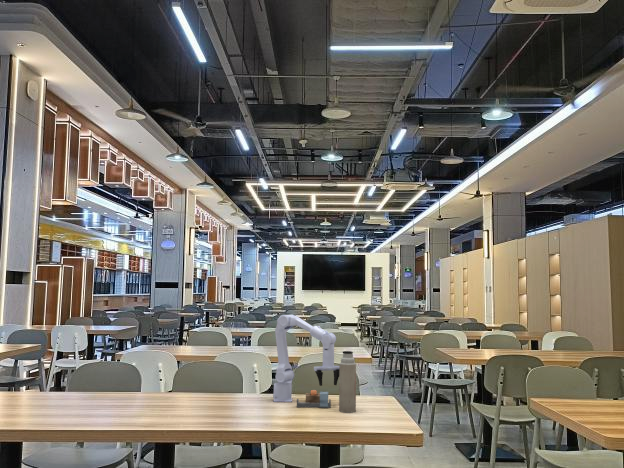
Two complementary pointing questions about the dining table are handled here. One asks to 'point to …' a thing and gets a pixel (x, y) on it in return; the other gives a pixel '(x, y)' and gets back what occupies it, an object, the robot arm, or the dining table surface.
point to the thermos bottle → (347, 383)
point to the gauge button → (313, 392)
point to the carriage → (323, 399)
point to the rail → (311, 404)
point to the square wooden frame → (312, 397)
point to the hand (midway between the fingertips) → (328, 385)
